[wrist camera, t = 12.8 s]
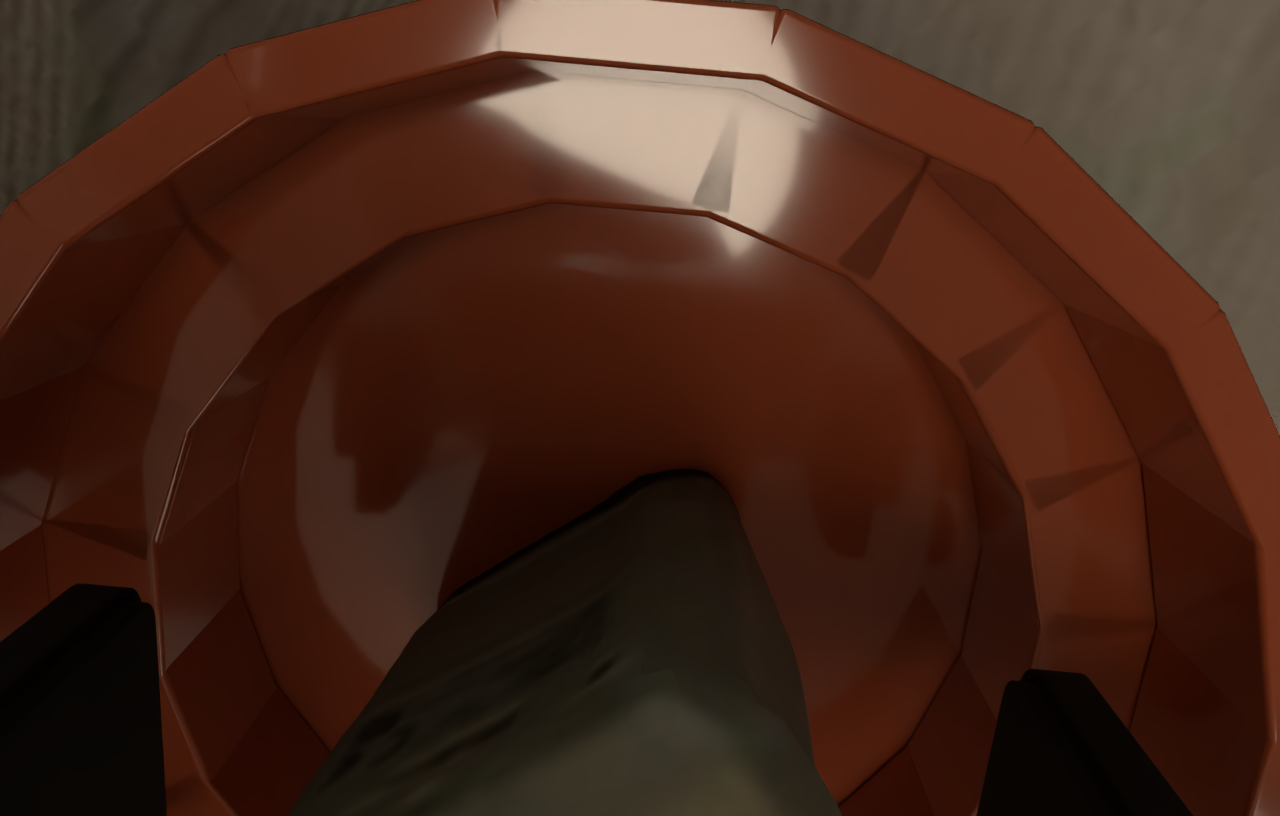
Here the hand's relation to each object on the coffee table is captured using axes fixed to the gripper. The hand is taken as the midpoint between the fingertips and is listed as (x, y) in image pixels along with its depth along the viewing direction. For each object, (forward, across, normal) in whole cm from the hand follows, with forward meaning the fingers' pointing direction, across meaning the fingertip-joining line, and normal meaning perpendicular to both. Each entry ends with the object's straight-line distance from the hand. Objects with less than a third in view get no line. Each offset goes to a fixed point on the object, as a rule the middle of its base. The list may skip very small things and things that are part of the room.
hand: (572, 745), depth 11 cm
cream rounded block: (+5, 0, 0) cm, 5 cm away
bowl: (+5, 0, 0) cm, 5 cm away
